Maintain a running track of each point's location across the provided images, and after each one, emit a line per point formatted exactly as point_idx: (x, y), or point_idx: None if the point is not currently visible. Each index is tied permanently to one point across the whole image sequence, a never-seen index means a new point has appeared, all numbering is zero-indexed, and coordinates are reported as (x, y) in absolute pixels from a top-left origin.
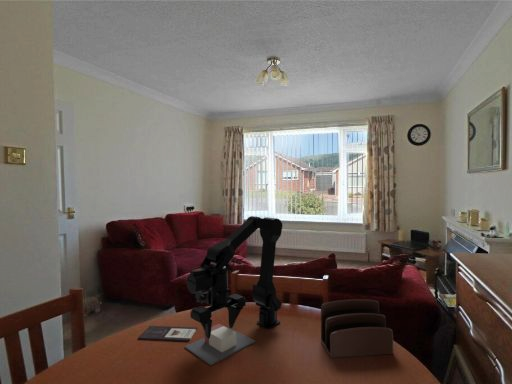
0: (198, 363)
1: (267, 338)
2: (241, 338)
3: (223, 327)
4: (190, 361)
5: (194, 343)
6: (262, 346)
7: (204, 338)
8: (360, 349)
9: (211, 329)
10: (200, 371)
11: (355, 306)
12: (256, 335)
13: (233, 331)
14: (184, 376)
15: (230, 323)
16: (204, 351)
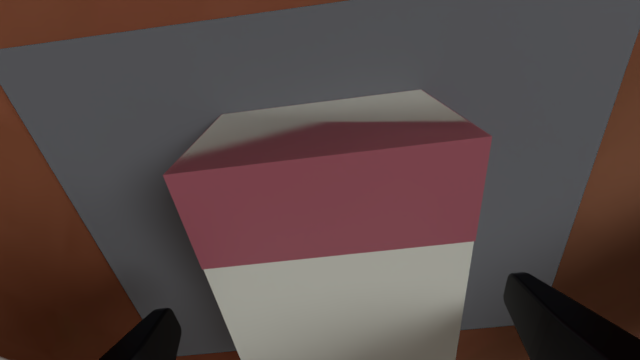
0: (103, 301)
1: (623, 320)
2: (510, 257)
3: (441, 271)
4: (50, 262)
5: (103, 72)
6: (516, 357)
7: (246, 39)
8: None
9: (270, 227)
10: (102, 353)
11: None
12: (629, 260)
13: None
14: (6, 345)
15: (547, 350)
16: (167, 245)
